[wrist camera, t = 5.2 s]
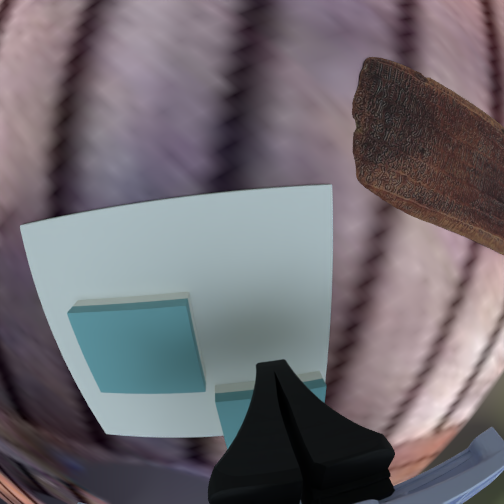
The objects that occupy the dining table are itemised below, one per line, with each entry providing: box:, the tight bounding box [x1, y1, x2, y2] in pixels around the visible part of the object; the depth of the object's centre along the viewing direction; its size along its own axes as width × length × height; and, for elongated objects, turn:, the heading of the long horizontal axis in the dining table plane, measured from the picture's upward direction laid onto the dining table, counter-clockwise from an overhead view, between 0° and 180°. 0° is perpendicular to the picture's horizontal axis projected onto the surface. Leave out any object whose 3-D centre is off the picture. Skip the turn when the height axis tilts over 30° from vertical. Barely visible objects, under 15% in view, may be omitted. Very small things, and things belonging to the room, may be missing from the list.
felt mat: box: [20, 184, 333, 437], centre depth 17 cm, size 18×18×1 cm
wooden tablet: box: [352, 57, 504, 255], centre depth 15 cm, size 26×2×10 cm
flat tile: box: [215, 371, 326, 449], centre depth 18 cm, size 6×7×2 cm
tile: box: [67, 292, 206, 394], centre depth 15 cm, size 6×2×7 cm
